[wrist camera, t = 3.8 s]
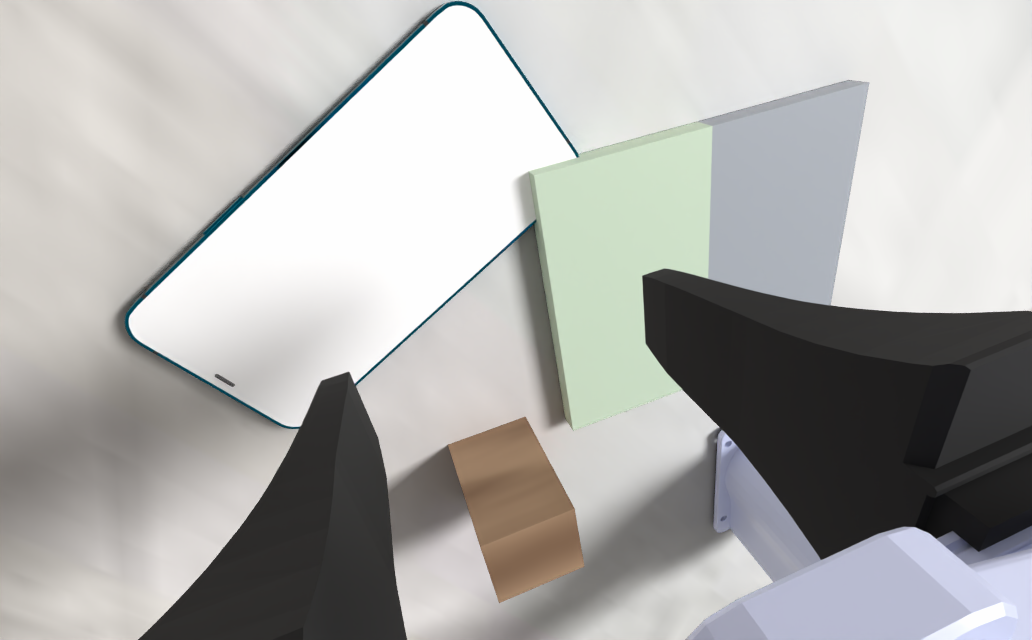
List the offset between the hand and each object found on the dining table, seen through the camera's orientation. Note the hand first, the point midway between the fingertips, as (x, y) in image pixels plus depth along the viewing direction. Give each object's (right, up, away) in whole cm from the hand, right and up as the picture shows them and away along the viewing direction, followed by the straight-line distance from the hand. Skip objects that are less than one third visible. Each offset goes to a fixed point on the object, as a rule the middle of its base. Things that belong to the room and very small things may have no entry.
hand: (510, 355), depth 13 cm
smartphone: (-5, +4, +8) cm, 10 cm away
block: (-1, -6, +15) cm, 16 cm away
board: (+9, +4, +13) cm, 16 cm away
